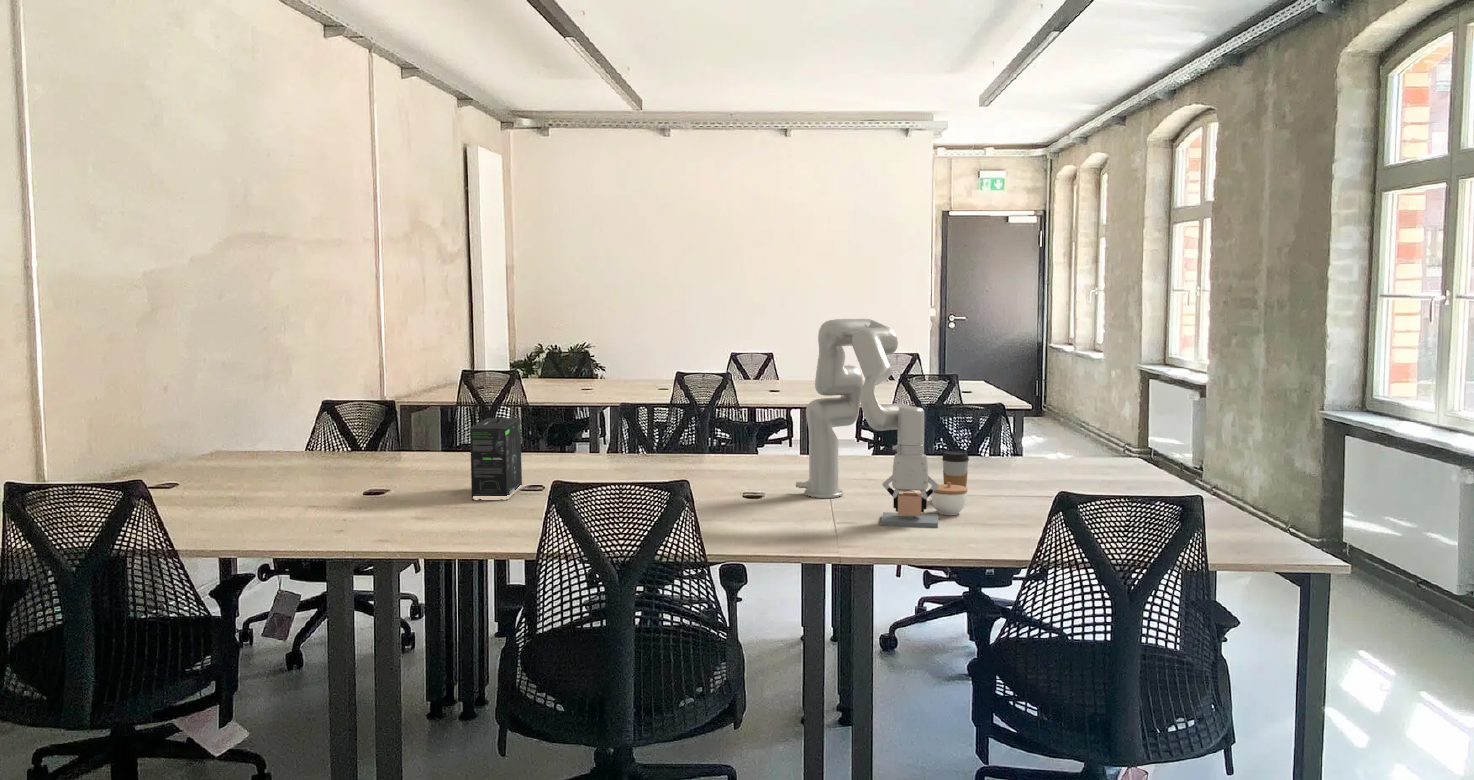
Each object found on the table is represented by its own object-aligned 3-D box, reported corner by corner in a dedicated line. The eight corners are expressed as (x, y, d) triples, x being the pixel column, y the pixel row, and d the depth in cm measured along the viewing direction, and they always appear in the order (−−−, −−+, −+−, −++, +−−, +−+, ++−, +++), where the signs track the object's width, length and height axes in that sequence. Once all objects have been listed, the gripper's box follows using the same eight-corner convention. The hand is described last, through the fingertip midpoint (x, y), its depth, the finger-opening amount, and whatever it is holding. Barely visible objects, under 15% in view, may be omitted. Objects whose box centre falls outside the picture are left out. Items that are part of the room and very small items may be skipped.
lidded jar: (964, 518, 310) (965, 486, 309) (928, 515, 313) (928, 484, 312) (968, 510, 320) (969, 480, 319) (933, 508, 323) (933, 478, 322)
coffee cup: (968, 502, 332) (969, 455, 330) (941, 501, 333) (942, 454, 332) (968, 497, 340) (968, 451, 338) (941, 496, 341) (942, 450, 340)
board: (880, 525, 301) (880, 500, 300) (883, 516, 312) (883, 492, 312) (937, 527, 297) (938, 502, 297) (938, 518, 309) (938, 494, 308)
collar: (897, 515, 302) (898, 496, 301) (898, 510, 308) (899, 491, 308) (921, 516, 301) (921, 497, 300) (921, 511, 307) (921, 492, 307)
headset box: (507, 501, 337) (505, 420, 335) (470, 500, 338) (468, 420, 335) (523, 487, 360) (521, 412, 357) (488, 487, 360) (486, 412, 357)
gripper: (879, 451, 301) (878, 512, 303) (941, 452, 298) (940, 515, 299) (881, 447, 308) (880, 507, 310) (941, 448, 305) (940, 509, 307)
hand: (909, 510), depth 305 cm, fingers closed on collar, 6 cm apart
